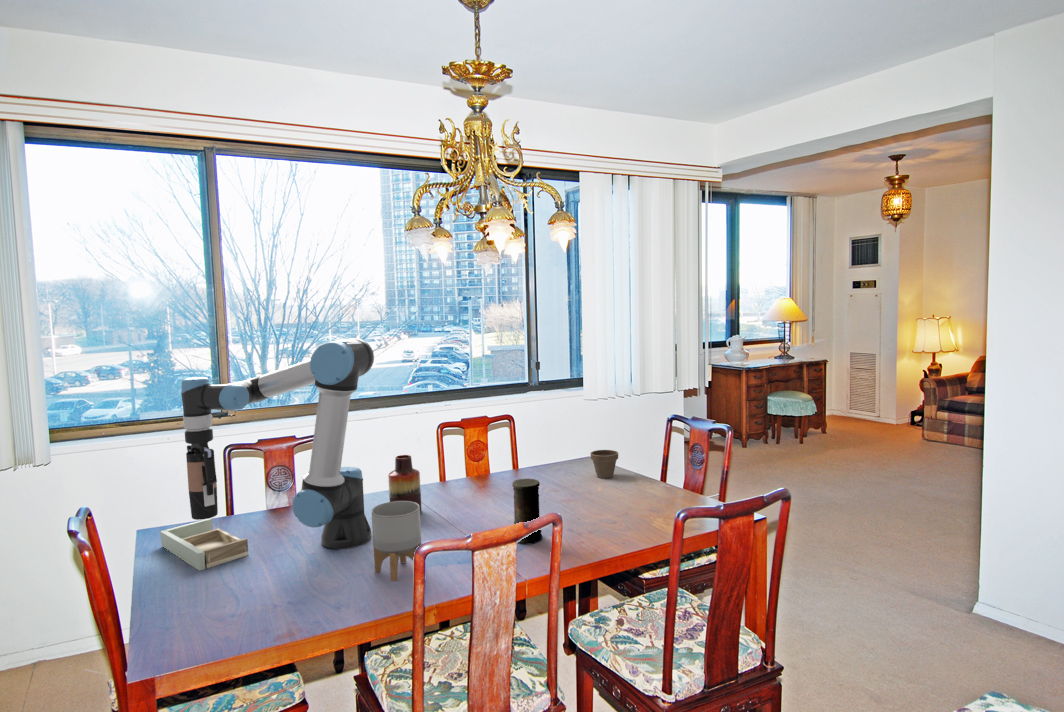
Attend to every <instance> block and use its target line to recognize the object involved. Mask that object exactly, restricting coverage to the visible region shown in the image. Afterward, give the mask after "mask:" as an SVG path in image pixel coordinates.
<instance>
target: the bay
mask: <svg viewBox="0 0 1064 712" xmlns="http://www.w3.org/2000/svg"><path fill="white" fill-rule="evenodd" d="M213 527H214V526H213V519H212V518H208V519H202V520H196V521H194V522H191V523H185V524H182V525H180V526H175V527H172V528H168V529H167V528H166V529H164V530H161V531H159V532H160V533H159V534H160V543H161V545H160V546H161V548H163V547H164V548H166V549H167V550H166V549H165V550H166V551H168V550H169V551H170V552H169V551H168V552H169V553H171V552H172V553H173V555H174V554H175V555H176V556H175V555H174V556H175V557H177V556H178V557H177V558H179V559H180V558H181V559H180V560H182V561H183V560H184V562H185V563H187V564H189V565H190V566H191V567H193V568H194V569H197V570H198V571H199V572H201V571H203V570H206V567H205V560H204V552H203V551H201V550H199V549H198V548H196V547H194V546H193V545H191V544H189V543H187V542H186V541H184V540H182V539H183V538H186V537H190V536H193V535H197V534H201V533H204V532H208V531H211V530H214V529H213ZM164 548H163V549H164ZM172 553H171V554H172Z"/></svg>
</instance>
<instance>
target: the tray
mask: <svg viewBox="0 0 1064 712" xmlns="http://www.w3.org/2000/svg"><path fill="white" fill-rule="evenodd" d="M182 540H184V541H186V542H187V543H189V544H191V545H193V546H194V547H196V548H198V549H199V550H201V551H203V552H204V560H205V569H210V568H212V567H216V566H219V565H222V564H225V563H228V562H231V561H234V560H238V559H241V558H244V557H246V556H249V544H248V543H249V542H248V538H246V537H244V538H240V537H237V536H235V535H234V534H230V533H229V532H227V531H225V530H224V529H222V528H215V529H213V530H211V531H208V532H204V533H201V534H197V535H193V536H190V537H186V538H183V539H182Z"/></svg>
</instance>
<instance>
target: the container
mask: <svg viewBox="0 0 1064 712" xmlns="http://www.w3.org/2000/svg"><path fill="white" fill-rule="evenodd" d="M540 485H541V484H540V481H539V480H537V479H535V478H519V479H516V480H514V481H512V485H511V486H512V488H513V507H514V508H513V509H514V513H513V514H514V515H513V517H514V520H513V525H514V524H516V523H519V522H527V521H531V520H533V519H536V518H538V517H539V518H540V493H539V489H540ZM542 532H543V531H542V529H541V530H538V531H537V532H534V533H532V534H531V535H529V536H528V537H526V538H524V539H522V540H521V541H520V542H519V543H518V544H521V543H522V545H527V544H526V543H533V544H536V543H535V542H537V543H539V542H541V541H542V539H543V534H542ZM538 541H539V542H538ZM523 543H524V544H523Z"/></svg>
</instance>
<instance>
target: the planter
mask: <svg viewBox="0 0 1064 712" xmlns="http://www.w3.org/2000/svg"><path fill="white" fill-rule="evenodd" d="M371 524H372V526H371V527H372V529H371V530H372V544H373V545H372V546H373V560H374V573H380V572H381V571H382V564H383V562H384V561H385V560H386V559H387V558H389V567H390V568H389V571H390V582H396V581H397V580H398V568H399V567H398V566H399V563H400V562H407V558H408V559H410V560H411V561H413V557H414V552H415V550H416V548H417V547H418V546H420V545H422V529H421V528H422V527H421V514H420V506H419V504H417V503H415V502H411V501H393V502H390V501H387V502H384V503H380V504H378V505H376V506H374V507H373V508H372V509H371Z"/></svg>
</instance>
